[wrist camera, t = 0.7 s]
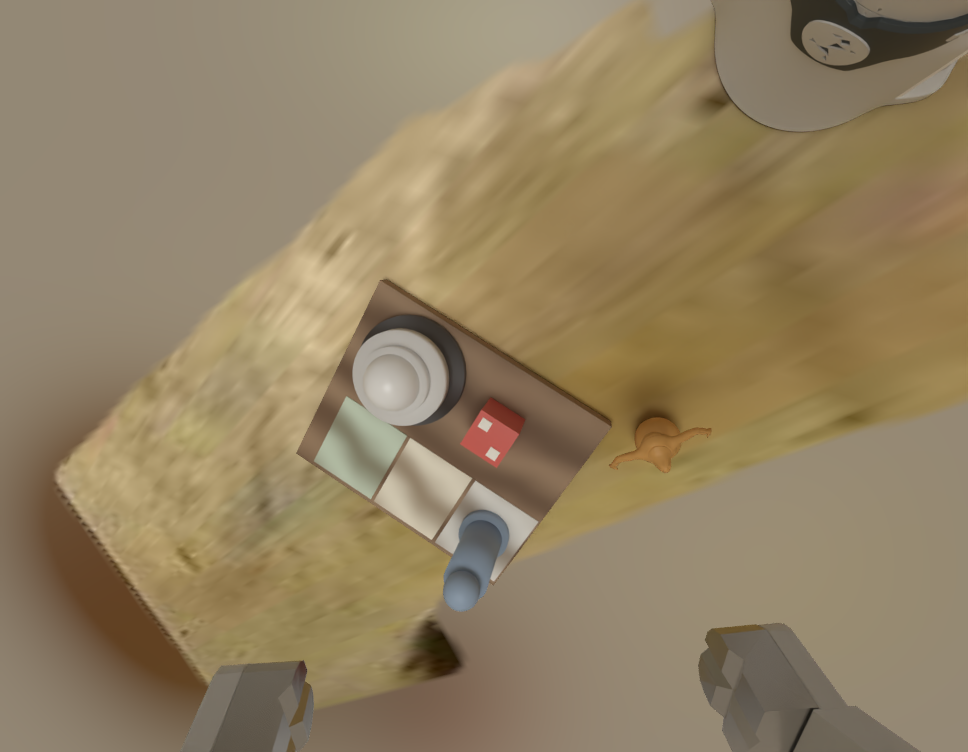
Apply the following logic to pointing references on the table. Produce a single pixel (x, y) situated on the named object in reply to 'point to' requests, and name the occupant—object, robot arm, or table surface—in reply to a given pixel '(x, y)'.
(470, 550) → the pawn
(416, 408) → the dome
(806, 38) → the robot arm
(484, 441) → the red die
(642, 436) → the figurine
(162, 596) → the table surface
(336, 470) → the game board
